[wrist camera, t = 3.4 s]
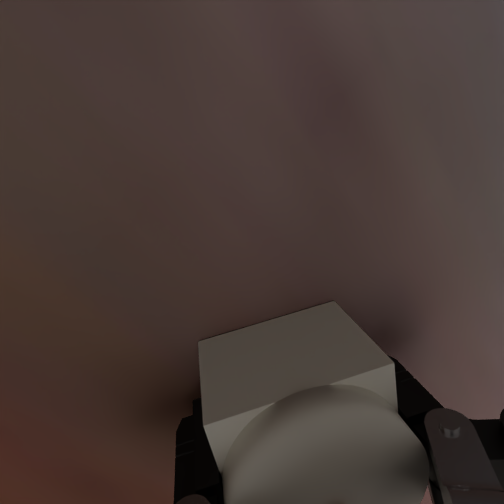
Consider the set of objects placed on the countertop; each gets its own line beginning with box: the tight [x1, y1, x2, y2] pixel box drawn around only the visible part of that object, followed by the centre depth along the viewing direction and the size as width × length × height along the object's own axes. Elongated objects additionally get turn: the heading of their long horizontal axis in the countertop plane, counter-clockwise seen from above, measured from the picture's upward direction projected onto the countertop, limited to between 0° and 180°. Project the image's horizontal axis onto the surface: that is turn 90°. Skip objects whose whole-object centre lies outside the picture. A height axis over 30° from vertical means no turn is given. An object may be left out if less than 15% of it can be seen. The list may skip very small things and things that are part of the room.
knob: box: [198, 301, 429, 504], centre depth 11 cm, size 6×6×6 cm
